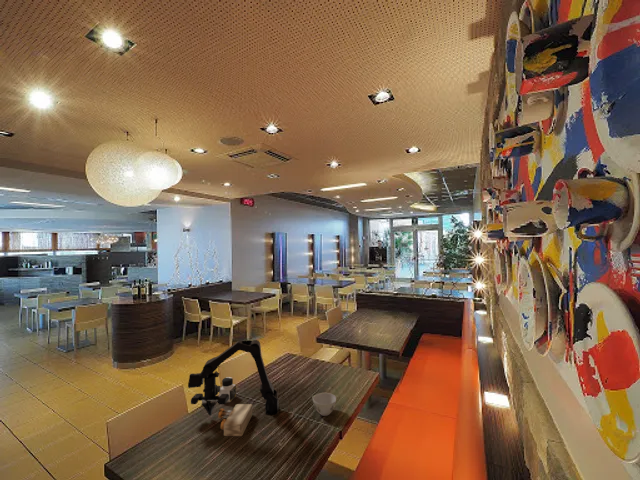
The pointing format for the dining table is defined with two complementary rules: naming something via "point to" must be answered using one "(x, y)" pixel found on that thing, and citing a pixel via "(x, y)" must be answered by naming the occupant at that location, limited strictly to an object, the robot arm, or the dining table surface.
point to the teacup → (324, 403)
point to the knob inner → (224, 413)
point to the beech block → (238, 420)
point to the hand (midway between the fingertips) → (210, 414)
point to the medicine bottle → (228, 388)
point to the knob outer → (222, 424)
